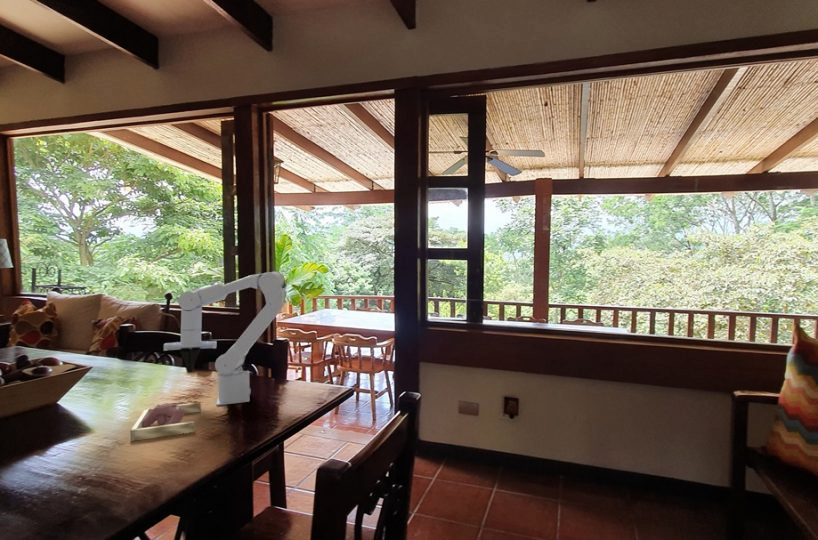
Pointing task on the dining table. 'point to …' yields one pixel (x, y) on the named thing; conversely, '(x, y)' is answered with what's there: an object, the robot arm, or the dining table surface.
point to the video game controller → (164, 415)
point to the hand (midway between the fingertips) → (190, 371)
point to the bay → (163, 430)
